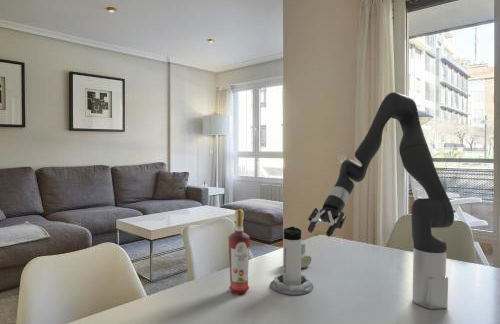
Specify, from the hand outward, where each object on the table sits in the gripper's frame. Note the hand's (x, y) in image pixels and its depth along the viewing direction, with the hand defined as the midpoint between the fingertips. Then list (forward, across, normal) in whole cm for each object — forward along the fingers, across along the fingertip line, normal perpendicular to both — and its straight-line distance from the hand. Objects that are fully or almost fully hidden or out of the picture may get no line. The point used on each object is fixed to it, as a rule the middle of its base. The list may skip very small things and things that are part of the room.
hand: (318, 233), depth 129 cm
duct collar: (+22, -1, +2) cm, 22 cm away
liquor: (+34, -10, -9) cm, 36 cm away
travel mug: (+21, -1, +2) cm, 21 cm away
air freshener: (+9, -14, +15) cm, 22 cm away
